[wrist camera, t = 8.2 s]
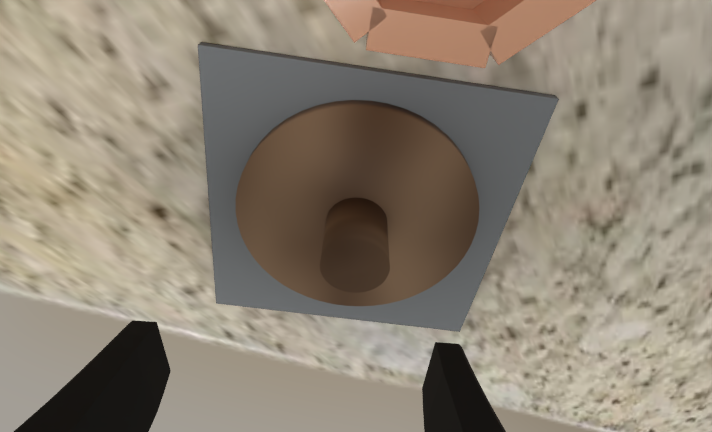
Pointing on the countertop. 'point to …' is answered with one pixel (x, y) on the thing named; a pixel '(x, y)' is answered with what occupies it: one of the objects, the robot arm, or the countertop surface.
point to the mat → (350, 82)
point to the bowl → (452, 26)
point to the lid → (357, 203)
